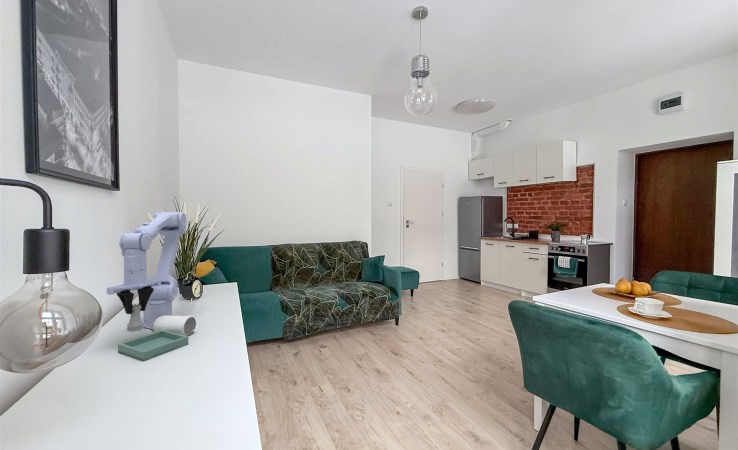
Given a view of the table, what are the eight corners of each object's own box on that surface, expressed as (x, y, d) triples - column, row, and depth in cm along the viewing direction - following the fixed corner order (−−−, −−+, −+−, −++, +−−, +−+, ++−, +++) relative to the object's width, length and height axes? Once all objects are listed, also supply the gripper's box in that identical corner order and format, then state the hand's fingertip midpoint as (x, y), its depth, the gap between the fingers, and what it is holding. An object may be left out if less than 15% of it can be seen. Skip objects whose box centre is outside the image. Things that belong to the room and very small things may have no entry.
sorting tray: (117, 352, 90) (117, 344, 90) (163, 337, 102) (163, 330, 102) (143, 361, 84) (143, 352, 84) (188, 344, 96) (188, 336, 96)
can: (183, 319, 101) (150, 318, 102) (183, 338, 101) (150, 337, 102) (196, 313, 107) (165, 313, 108) (196, 331, 107) (165, 330, 108)
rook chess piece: (133, 332, 94) (134, 307, 94) (122, 331, 95) (123, 305, 95) (147, 327, 99) (147, 303, 99) (136, 326, 100) (137, 302, 100)
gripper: (115, 274, 89) (115, 320, 89) (166, 267, 102) (166, 307, 102) (102, 272, 92) (103, 317, 92) (153, 266, 105) (154, 305, 105)
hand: (135, 312), depth 97 cm, fingers closed on rook chess piece, 3 cm apart
